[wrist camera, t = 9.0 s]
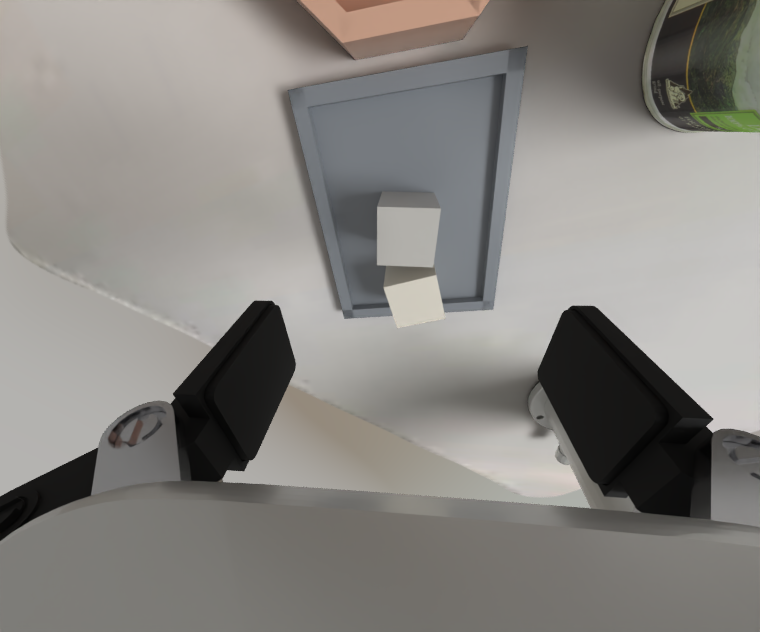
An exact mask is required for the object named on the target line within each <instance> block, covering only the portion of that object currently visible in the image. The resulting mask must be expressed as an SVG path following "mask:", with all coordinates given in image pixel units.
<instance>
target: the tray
mask: <svg viewBox="0 0 760 632" xmlns="http://www.w3.org/2000/svg"><path fill="white" fill-rule="evenodd" d="M527 48H528V46H526V47H520V48H515V49H509V50H504V51H498V52H493V53H487V54H482V55H477V56H471V57H466V58H460V59H455V60H449V61H444V62H438V63H433V64H427V65H422V66H416V67H411V68H405V69H400V70H394V71H389V72H383V73H378V74H372V75H367V76H361V77H356V78H351V79H345V80H340V81H334V82H329V83H323V84H318V85H312V86H307V87H301V88H296V89H290V90H288V93H289V97H290V101H291V105H292V109H293V113H294V117H295V121H296V125H297V129H298V133H299V137H300V141H301V145H302V149H303V153H304V158H305V162H306V166H307V170H308V174H309V178H310V182H311V186H312V190H313V194H314V198H315V202H316V206H317V210H318V214H319V218H320V222H321V226H322V230H323V234H324V238H325V242H326V246H327V250H328V254H329V258H330V262H331V266H332V270H333V274H334V279H335V283H336V287H337V291H338V295H339V299H340V303H341V307H342V311H343V315H344V319H348V318H364V317H380V316H393V314H392V311H391V308H390V306H389V303H388V300H387V297H386V294H385V291H384V288H383V287H384V279H385V271H386V266H384V265H377V206H378V203H379V200H380V197H381V194H382V191H386V192H426V193H435V196H436V198H437V200H438V203H439V205H440V207H441V213H440V220H439V228H438V235H437V243H436V250H435V258H434V266H435V271H436V276H437V280H438V285H439V290H440V294H441V299H442V304H443V309H444V313H445V312H461V311H477V310H493V307H494V299H495V292H496V284H497V277H498V269H499V261H500V254H501V246H502V238H503V231H504V223H505V215H506V208H507V200H508V193H509V185H510V177H511V170H512V162H513V154H514V147H515V139H516V132H517V124H518V116H519V109H520V101H521V93H522V86H523V78H524V71H525V63H526V55H527Z"/></svg>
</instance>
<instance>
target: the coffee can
mask: <svg viewBox="0 0 760 632" xmlns="http://www.w3.org/2000/svg"><path fill="white" fill-rule="evenodd" d="M642 88H643V95H644V99H645V103H646V105H647V107H648V109H649V111H650V112H651V114H652V115H653V117H654V118H655V119H656V120H657V121H658V122H660V123H661V124H662V125H664V126H666V127H668V128H670V129H673V130H676V131H680V132H685V133H689V132H691V133H696V132H704V131H716V132H717V131H720V132H760V0H666V1H665V3H664V5H663V7H662V9H661V11H660V13H659V15H658V17H657V19H656V21H655V23H654V26H653V29H652V33H651V36H650V38H649V41H648V44H647V48H646V52H645V57H644V61H643V69H642Z"/></svg>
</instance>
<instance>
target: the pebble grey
mask: <svg viewBox="0 0 760 632" xmlns="http://www.w3.org/2000/svg"><path fill="white" fill-rule="evenodd" d="M440 213H441V207H440V205H439V203H438V200H437V198H436V196H435V193H426V192H386V191H382V194H381V197H380V200H379V203H378V206H377V265H384V266H409V267H433V265H434V258H435V250H436V243H437V235H438V228H439V220H440Z"/></svg>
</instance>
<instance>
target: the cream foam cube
mask: <svg viewBox="0 0 760 632" xmlns="http://www.w3.org/2000/svg"><path fill="white" fill-rule="evenodd" d="M383 288H384V291H385V294H386V297H387V300H388V303H389V306H390V308H391V311H392V314H393V317H394V320H395V323H396V326H397V328H401V327H406V326H411V325H416V324H421V323H427V322H432V321H437V320H442V319H446V318H445V313H444V309H443V304H442V299H441V294H440V290H439V285H438V280H437V276H436V271H435V266H434V265H433V267H409V266H386V271H385V279H384V287H383Z"/></svg>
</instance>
